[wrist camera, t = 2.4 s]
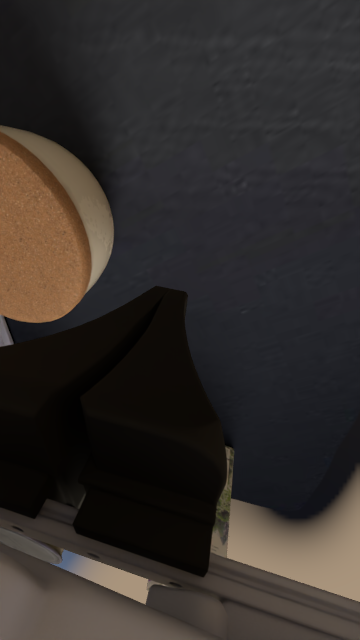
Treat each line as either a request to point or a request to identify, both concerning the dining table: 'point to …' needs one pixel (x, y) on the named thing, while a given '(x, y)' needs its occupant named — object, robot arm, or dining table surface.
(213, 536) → the syrup box
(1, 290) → the trinket box
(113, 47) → the dining table surface
